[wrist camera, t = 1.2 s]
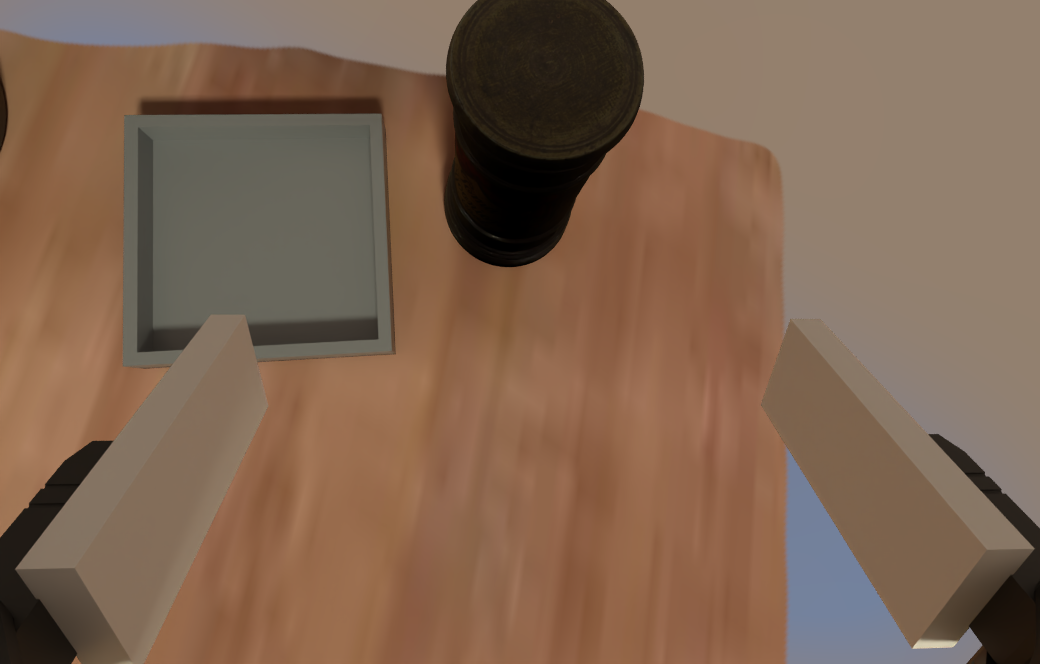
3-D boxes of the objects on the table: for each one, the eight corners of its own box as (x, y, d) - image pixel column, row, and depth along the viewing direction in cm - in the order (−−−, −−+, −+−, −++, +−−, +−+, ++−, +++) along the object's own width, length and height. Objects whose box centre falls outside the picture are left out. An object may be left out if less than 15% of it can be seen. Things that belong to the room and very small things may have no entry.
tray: (144, 368, 37) (122, 366, 35) (145, 133, 39) (124, 115, 37) (395, 354, 39) (391, 351, 37) (385, 130, 41) (381, 113, 39)
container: (495, 123, 42) (528, -77, 24) (591, 200, 42) (693, 56, 25) (417, 215, 41) (391, 72, 23) (517, 293, 41) (568, 212, 23)
